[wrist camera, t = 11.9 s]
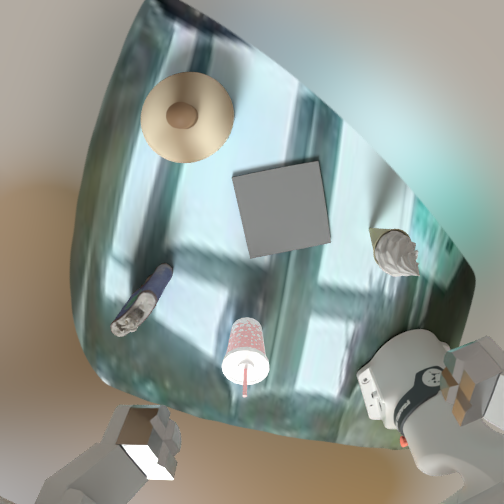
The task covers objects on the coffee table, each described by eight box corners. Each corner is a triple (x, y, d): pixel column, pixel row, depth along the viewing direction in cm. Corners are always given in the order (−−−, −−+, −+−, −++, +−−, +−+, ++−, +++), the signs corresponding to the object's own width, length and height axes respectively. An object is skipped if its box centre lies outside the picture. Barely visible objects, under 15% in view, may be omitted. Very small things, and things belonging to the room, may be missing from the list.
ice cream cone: (355, 250, 43) (397, 302, 29) (351, 215, 41) (396, 256, 27) (388, 243, 43) (439, 290, 29) (385, 208, 41) (440, 245, 27)
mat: (329, 241, 43) (330, 242, 42) (250, 256, 43) (250, 258, 43) (317, 160, 39) (318, 161, 38) (232, 177, 40) (231, 177, 39)
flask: (164, 258, 44) (140, 295, 34) (179, 273, 44) (160, 312, 34) (127, 297, 46) (100, 337, 36) (142, 310, 47) (118, 352, 37)
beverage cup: (220, 318, 47) (210, 383, 34) (260, 308, 46) (262, 372, 33) (234, 349, 49) (229, 415, 36) (271, 340, 48) (277, 406, 35)
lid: (222, 63, 31) (219, 54, 27) (243, 149, 34) (242, 151, 30) (135, 89, 31) (122, 85, 28) (155, 172, 35) (144, 177, 31)
